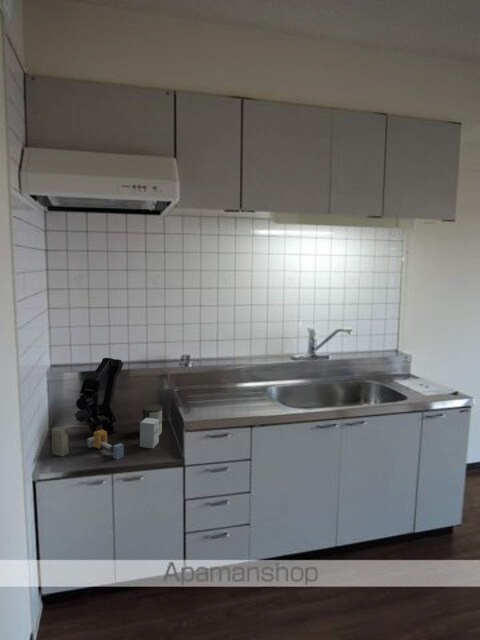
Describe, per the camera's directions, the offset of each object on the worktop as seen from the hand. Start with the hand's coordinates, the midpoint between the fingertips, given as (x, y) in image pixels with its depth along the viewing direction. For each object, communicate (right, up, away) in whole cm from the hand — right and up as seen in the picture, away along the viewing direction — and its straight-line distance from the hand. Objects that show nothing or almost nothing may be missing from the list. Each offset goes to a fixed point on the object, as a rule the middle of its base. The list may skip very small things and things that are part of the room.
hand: (92, 433), depth 228 cm
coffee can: (+26, -4, +18) cm, 32 cm away
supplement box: (+27, -7, +3) cm, 28 cm away
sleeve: (+5, -5, -3) cm, 8 cm away
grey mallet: (+8, -7, -6) cm, 12 cm away
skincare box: (-12, -7, -10) cm, 17 cm away
